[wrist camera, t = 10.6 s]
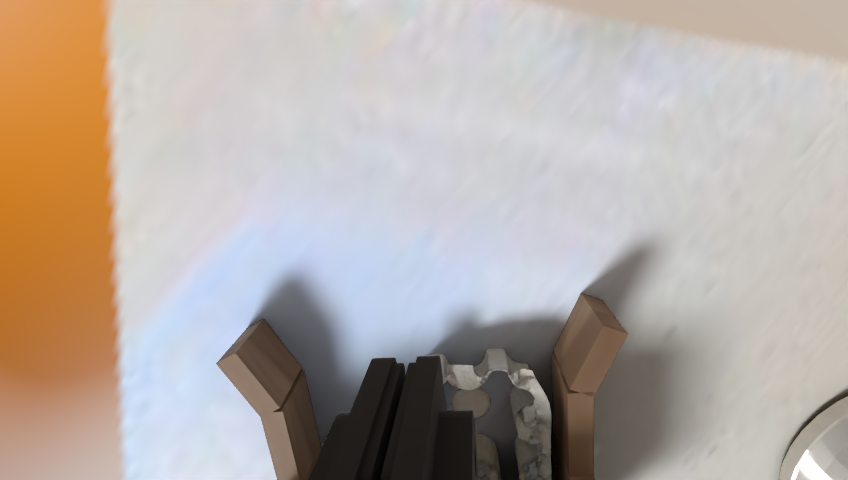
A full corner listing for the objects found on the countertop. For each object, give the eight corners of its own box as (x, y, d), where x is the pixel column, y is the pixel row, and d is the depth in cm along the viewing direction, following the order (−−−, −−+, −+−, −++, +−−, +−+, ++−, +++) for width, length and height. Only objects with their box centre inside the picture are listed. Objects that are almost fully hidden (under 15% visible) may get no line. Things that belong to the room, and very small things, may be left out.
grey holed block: (404, 346, 25) (396, 391, 21) (539, 340, 25) (556, 385, 21) (419, 495, 28) (415, 558, 24) (539, 493, 28) (554, 557, 24)
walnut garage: (602, 291, 23) (673, 380, 16) (600, 518, 28) (655, 667, 21) (244, 320, 25) (160, 413, 18) (298, 530, 29) (249, 674, 22)
